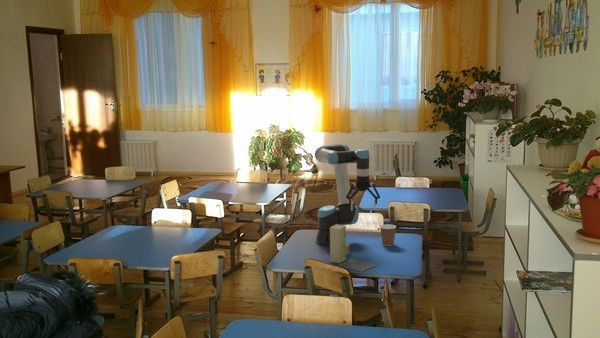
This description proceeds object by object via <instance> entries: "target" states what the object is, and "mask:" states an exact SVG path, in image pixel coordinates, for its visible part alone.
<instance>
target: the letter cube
mask: <svg viewBox="0 0 600 338" xmlns="http://www.w3.org/2000/svg"><path fill="white" fill-rule="evenodd" d="M349 254H350V243H347V242H346V256H347V255H349Z"/></svg>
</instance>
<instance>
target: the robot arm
mask: <svg viewBox="0 0 600 338" xmlns="http://www.w3.org/2000/svg"><path fill="white" fill-rule="evenodd" d="M314 158H315V159H316V161H317V162H320V163H324V164H325V163H327V164H329V165H331V166H332V167H333V168H334V169H333V170H334V177H335V183H336V190H337V198H338V199H337V200H338V204H336V206H335V205H325V206H322V207H320V208H318V210H317V222H318V224H317V226H318V227H317V230H318V231H317V234H316V238H315V243H316V244H317V245H320V246H321V245H322V246H330V227H332V226H334V225H336V224H337V225H344V226H352V225H356V224H357V223H358V221H359V216H360V211H359V208H358V206H357V205H356V204H355V202H354V201H353V198H354V197H355V195H357V193H358V192H359V191H360V192H361V191H362V192H363V191H364V192H366V191H367V192H369V194H370V195H371V196H372V197H373V211H376V205H378V199H380V198H381V196H380V194H379V192H378V190H377V188H376V183H375V182H371V183H370V151H369V149H366V148H359V149H350V147H349V146H348V145H347V144H345V143H343V144H341V143H340V144H338V143H337V144H325V145H321V146H319V147H318V148H316V150H315V152H314ZM349 164H356V183H354V182H351V186H350V176H349V169H348V165H349ZM370 187H372V188H373V190H374V192H373V191H372V190H371V189H370ZM354 188H356V189H355V190H354V191H353V189H354ZM352 191H353V192H352ZM375 194H376V195H375Z"/></svg>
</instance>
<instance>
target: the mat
mask: <svg viewBox="0 0 600 338" xmlns="http://www.w3.org/2000/svg"><path fill="white" fill-rule="evenodd" d="M337 267H342V268H345V269H349V270H353V271H356V272H360V273H363V272H366V271H368V270H371V269H373V268H376V267H378V265H377V264H373V263H371V262H365V261H362V260H358V259H354V258H352V259H349V260H345V261H343V262H341V263H338V264H337Z"/></svg>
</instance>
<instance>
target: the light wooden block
mask: <svg viewBox="0 0 600 338" xmlns="http://www.w3.org/2000/svg"><path fill="white" fill-rule="evenodd" d="M346 227H347V225H337V224H336V225H334V226H332V227H330V245H329V246H330V247H329V251H330V252H329V258H330V262H331V263H335V264H336V263H337V264H341V263H344V262H345V261H347V255H346V243H347V240H346V239H347V232H346V231H347V228H346Z"/></svg>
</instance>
